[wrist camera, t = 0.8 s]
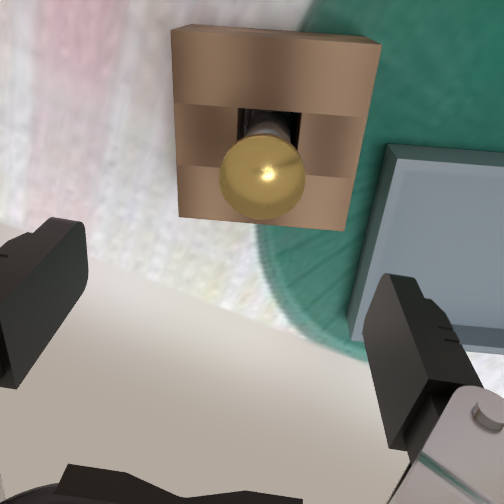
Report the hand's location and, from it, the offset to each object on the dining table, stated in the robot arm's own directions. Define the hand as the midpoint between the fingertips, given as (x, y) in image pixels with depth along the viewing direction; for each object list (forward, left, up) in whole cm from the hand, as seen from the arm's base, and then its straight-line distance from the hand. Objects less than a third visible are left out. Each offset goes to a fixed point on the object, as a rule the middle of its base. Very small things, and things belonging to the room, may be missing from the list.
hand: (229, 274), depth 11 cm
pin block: (0, +1, -23) cm, 23 cm away
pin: (0, +1, -23) cm, 23 cm away
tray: (-18, +11, -23) cm, 32 cm away
